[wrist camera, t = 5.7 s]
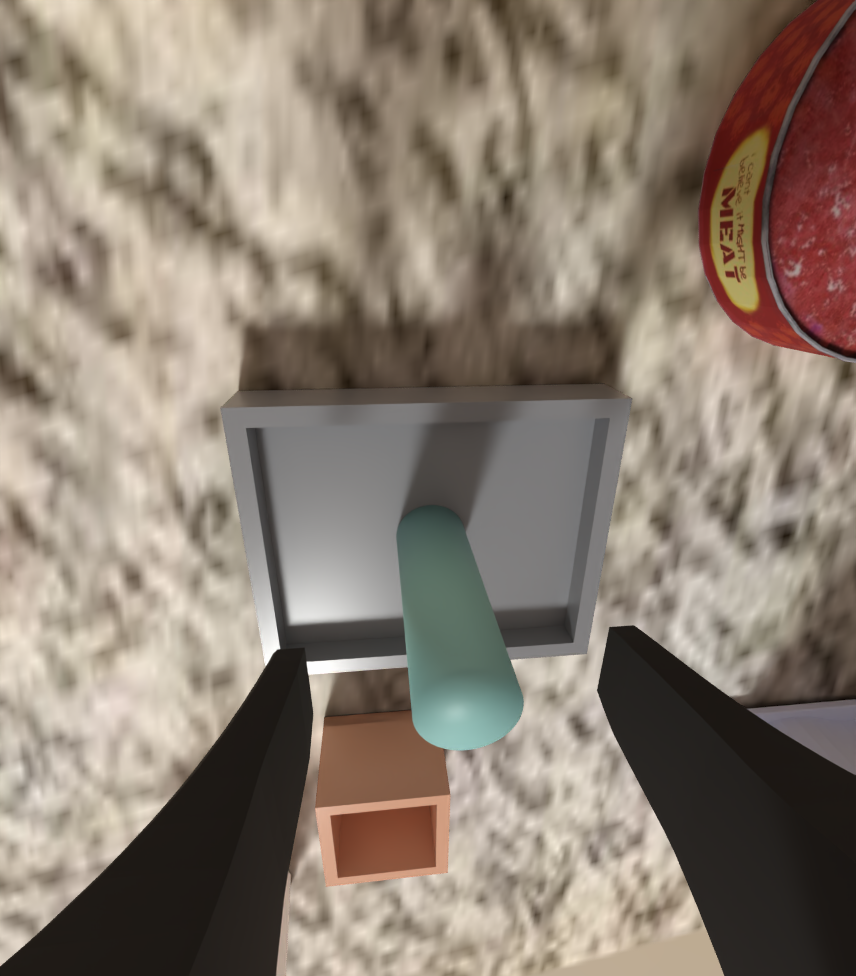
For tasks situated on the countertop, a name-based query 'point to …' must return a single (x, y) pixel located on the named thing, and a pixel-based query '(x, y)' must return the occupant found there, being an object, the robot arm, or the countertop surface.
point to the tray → (415, 483)
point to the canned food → (789, 190)
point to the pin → (452, 637)
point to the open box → (381, 800)
